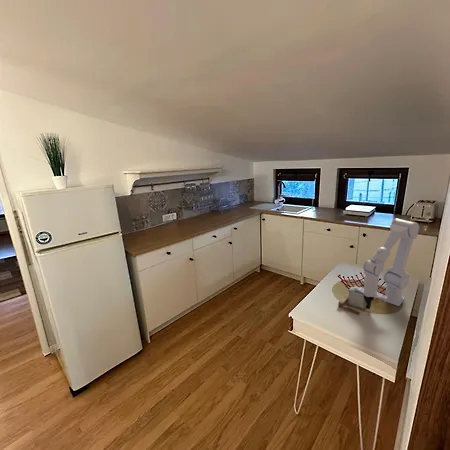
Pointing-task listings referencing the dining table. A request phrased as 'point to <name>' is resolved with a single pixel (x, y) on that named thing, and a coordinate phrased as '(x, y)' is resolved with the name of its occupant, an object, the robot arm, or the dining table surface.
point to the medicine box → (356, 298)
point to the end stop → (344, 302)
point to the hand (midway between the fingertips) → (368, 307)
